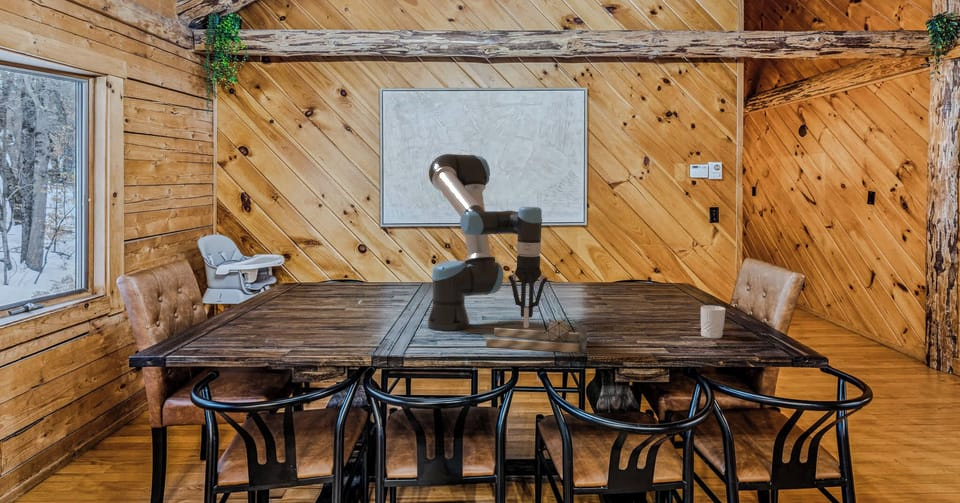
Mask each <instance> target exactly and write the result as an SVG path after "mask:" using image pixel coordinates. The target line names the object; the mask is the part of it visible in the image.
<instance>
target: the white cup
mask: <svg viewBox="0 0 960 503" xmlns="http://www.w3.org/2000/svg"><path fill="white" fill-rule="evenodd" d="M725 315H726V308H725V307H723V306H719V305H707V304H706V305H701V306H700V328H701V329H700V335H701V336H702V337H705V338H709V339H721V338H722V337H723V330H724V326H725V325H724V324H725V319H726V318H725V317H726V316H725Z"/></svg>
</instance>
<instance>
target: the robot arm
mask: <svg viewBox="0 0 960 503" xmlns="http://www.w3.org/2000/svg"><path fill="white" fill-rule="evenodd" d="M490 171H491V170H490V165H489V163H488V161H487V159H486V158H484V157H483V156H481V155H475V154H454V153H453V154H452V153H444V154H440V155H439V156H437V157H436V158H435V159H434V160H433V161H432V162H431V163H430V165H429V169H428V178H429V181H430V183H431V185H432V186H433V187H434V188H435V189H436V190H438V191H440V192H442V195H444V197H445V198H446V200H447V201H448V202H449V204H450V205H451V206H452V208H453V209H454V210H455V211H456V212H457V214H458V215H459V216H460V218H459V220H460V222H459V224H460V229H461V232H462V233H463V234H464V235H465V243H466V252H467V257H466V258H465V260H464V261H463V260H448V261H444V262H440V263H437V264H436V265H434V267H433V268H432V276H431V281H432V306H431V309H430V312H429V315H428V319H427V327H428V328H429V329H433V330H437V331H459V330H460V331H461V330H464V329H468V328H469V327H470V319H469V315H468V312H467V309H466V306H465V304H466V303H465V299H466V298H465V297H468V296H469V297H473V296H483V295H484V296H488V295H492V294H496V293H498V292H499V291H500V290H501V288H502V285H503V282H504V269H503V267H502V265H501V263H500V262H496V257H495V255H493V254H492V253H491V248H490V241H489V235H517V244H516V246H517V247H516V248H517V249H516V253H517V254H518V255H516V268H515V271H514V272H513V273H512V274H510V275H509V276H508V277H507V280H509V283H510V284H511V288H512V289H511V290H512V294H513V298H514V299H513V300H514V304H515V305H516V306H519V307H520V317H521V318H523V328H524V329H525V328H526V329H527V328H529V327H530V318H533V314H534V307H538V306H539V304H540V300H541V297H542V293H543V290H544V287H545V284H546V283H547V281H548V279H549V277H548V276H545V275H543V274H542V271H541V256H540V255H541V249H542V248H541V247H542V229H543V228H542V224H543V214H542V211H543V210H542V209H541V207H539V206H520V207H519V208H518V211H515V210H504V211H503V210H502V211H496V210H494V211H490V210H489V211H488V210H487V211H486V210H485V209H486V208H485V202H484V194H483V193H484V191H485V190H486V189H487V185H488V183H490V176H491V172H490ZM517 279H518V281H519V282H520V283H521V285H520V288H521V289H520V295H519V291H518V286H517V281H516V280H517ZM538 279H539V282H540V284H539V286H538V290H537V294H536V296H534V294H535V293H534V292H535V283H536V282H537V281H538ZM527 284H528V289H529V290H528V305H526V302H527V300H526V297H527ZM534 297H536V298H535V301H534Z"/></svg>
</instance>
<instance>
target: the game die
mask: <svg viewBox="0 0 960 503" xmlns="http://www.w3.org/2000/svg"><path fill="white" fill-rule="evenodd" d="M548 321H549V323H548V325H547V329H546V330H545V331H546V332H543V333H546V334H547V336H548V338H549V342H559V343H566V338H567V336H568V334H569V332H570V333H572V331H573V330H572V329H570V328H568V326H567V324H566V318H564V319H563V320H552V319H551V318H549V319H548Z"/></svg>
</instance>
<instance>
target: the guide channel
mask: <svg viewBox="0 0 960 503" xmlns="http://www.w3.org/2000/svg"><path fill="white" fill-rule="evenodd" d="M579 330H580V332H570V331H569V334H568V336H567V338H566V341H567V342H566V341H565V343H559V342H550V340H549V338H548V336H547V334H546V333H543V332H546V330H534V329H532V330H531V329H517V328H503V327H494V332H493V336H494V337H495V338H494V337H486V341H485V342H486V345H485V346H486V348H500V349H501V348H503V349H515V350H517V349H518V350H530V351H542V352H543V351H545V352H556V351H561V352H560V353H571V352H580V353H579V354H586V353H587V352H586V351H587V342H588V325H580V329H579ZM497 337H499V338H497ZM500 337H501V338H500ZM502 337H505V338H502ZM509 338H510V339H509ZM512 338H513V339H512ZM514 338H518V339H514ZM519 338H520V339H519ZM527 339H533V340H527ZM534 339H535V340H534ZM543 340H544V341H543ZM545 340H549V341H545ZM577 341H579V342H578V343H572V342H577Z"/></svg>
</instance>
